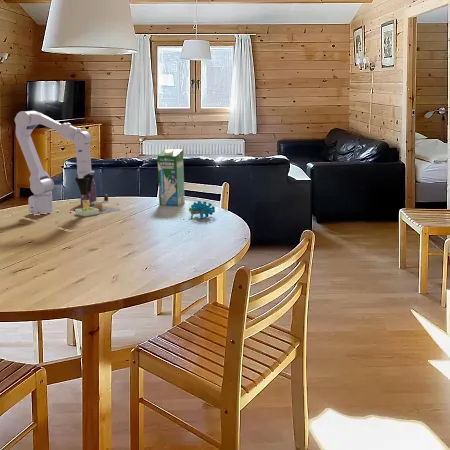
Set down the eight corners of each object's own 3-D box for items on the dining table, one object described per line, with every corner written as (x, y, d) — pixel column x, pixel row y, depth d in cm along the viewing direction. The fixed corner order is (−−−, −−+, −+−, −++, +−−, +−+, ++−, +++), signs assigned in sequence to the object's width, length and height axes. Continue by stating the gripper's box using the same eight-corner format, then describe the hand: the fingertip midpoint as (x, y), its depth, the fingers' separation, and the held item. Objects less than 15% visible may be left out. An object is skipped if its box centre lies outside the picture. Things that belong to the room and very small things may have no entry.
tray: (84, 216, 253) (84, 211, 252) (75, 214, 258) (75, 209, 257) (99, 214, 258) (98, 209, 257) (89, 212, 263) (89, 207, 262)
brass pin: (85, 214, 256) (84, 201, 255) (82, 213, 258) (81, 200, 257) (91, 213, 257) (90, 200, 256) (88, 212, 260) (87, 199, 258)
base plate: (85, 218, 253) (84, 209, 252) (63, 213, 265) (63, 204, 264) (123, 211, 266) (122, 202, 265) (101, 207, 278) (100, 198, 277)
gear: (218, 212, 254) (210, 198, 246) (217, 224, 250) (208, 210, 243) (194, 214, 257) (185, 201, 250) (192, 226, 254) (183, 213, 246)
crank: (89, 206, 263) (89, 197, 262) (86, 205, 265) (85, 197, 264) (110, 202, 270) (109, 194, 269) (106, 201, 272) (105, 193, 271)
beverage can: (79, 205, 283) (77, 179, 280) (94, 203, 286) (93, 178, 283) (82, 207, 276) (81, 181, 274) (98, 206, 279) (96, 180, 277)
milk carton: (159, 205, 279) (157, 150, 274) (166, 201, 288) (164, 148, 282) (177, 206, 277) (175, 150, 271) (184, 202, 285) (183, 148, 280)
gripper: (89, 162, 246) (91, 195, 249) (97, 158, 260) (99, 190, 263) (72, 162, 246) (74, 196, 249) (80, 158, 260) (82, 190, 263)
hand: (85, 193), depth 256 cm, fingers open, 7 cm apart
